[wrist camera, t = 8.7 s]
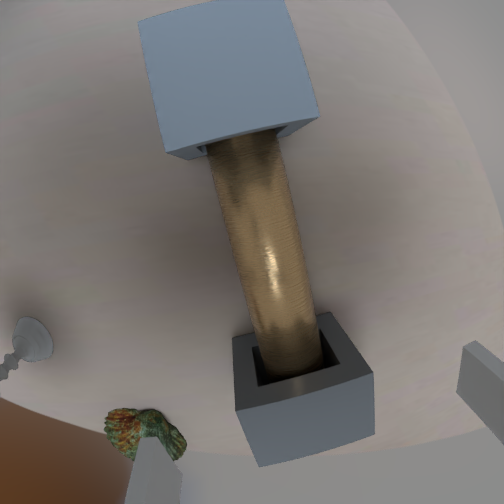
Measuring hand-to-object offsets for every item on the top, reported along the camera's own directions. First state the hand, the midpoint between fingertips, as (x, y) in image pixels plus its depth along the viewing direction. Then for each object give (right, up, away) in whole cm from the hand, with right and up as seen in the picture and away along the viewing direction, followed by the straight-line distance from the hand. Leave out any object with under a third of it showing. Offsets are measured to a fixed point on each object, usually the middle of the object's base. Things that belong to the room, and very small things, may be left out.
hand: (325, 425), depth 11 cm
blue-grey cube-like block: (-5, +19, +12) cm, 23 cm away
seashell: (-15, -14, +20) cm, 28 cm away
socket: (+1, -3, +17) cm, 18 cm away
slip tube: (-2, +5, +12) cm, 14 cm away
